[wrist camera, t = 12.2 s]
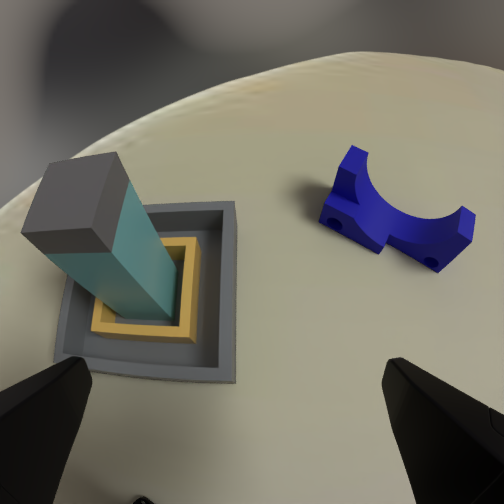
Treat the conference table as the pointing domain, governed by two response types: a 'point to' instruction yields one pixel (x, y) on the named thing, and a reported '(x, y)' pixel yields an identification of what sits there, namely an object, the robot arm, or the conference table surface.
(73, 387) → the robot arm
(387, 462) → the conference table surface
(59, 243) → the plug
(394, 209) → the cable clip
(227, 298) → the socket box
